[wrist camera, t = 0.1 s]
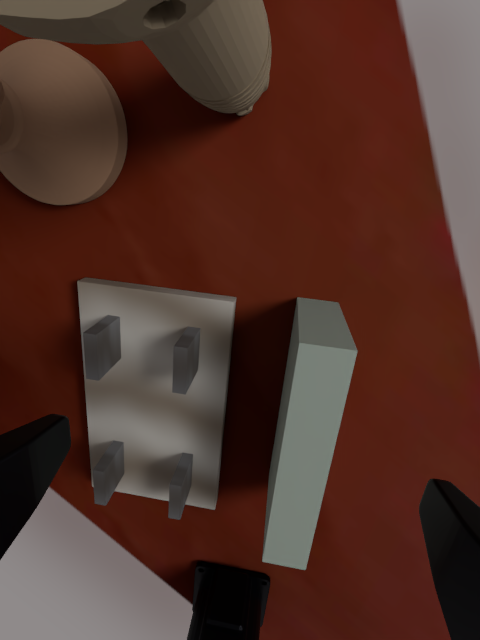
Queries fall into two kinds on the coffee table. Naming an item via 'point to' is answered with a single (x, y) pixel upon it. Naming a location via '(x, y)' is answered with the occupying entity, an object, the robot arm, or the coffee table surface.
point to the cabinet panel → (155, 390)
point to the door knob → (58, 124)
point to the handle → (167, 39)
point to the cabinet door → (306, 428)
